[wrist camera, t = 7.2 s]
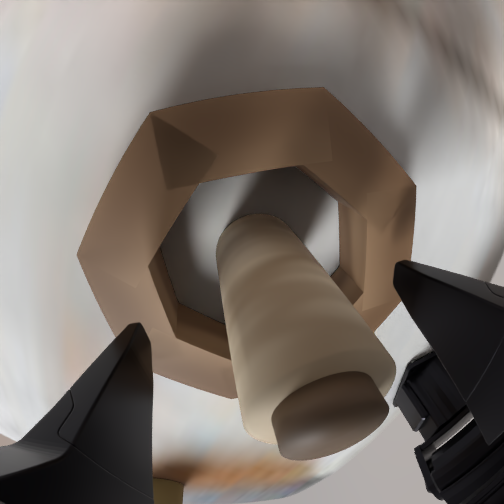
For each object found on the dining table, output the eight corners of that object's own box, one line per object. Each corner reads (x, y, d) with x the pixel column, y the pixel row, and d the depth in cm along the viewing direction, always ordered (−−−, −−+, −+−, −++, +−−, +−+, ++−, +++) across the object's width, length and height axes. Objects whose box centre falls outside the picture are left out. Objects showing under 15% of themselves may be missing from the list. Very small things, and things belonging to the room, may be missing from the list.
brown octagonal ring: (376, 93, 10) (411, 91, 8) (373, 324, 16) (393, 350, 14) (74, 144, 9) (45, 150, 7) (163, 375, 15) (161, 409, 13)
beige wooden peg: (292, 206, 12) (433, 351, 4) (298, 278, 13) (391, 436, 6) (208, 223, 12) (231, 419, 4) (224, 294, 13) (261, 480, 5)
